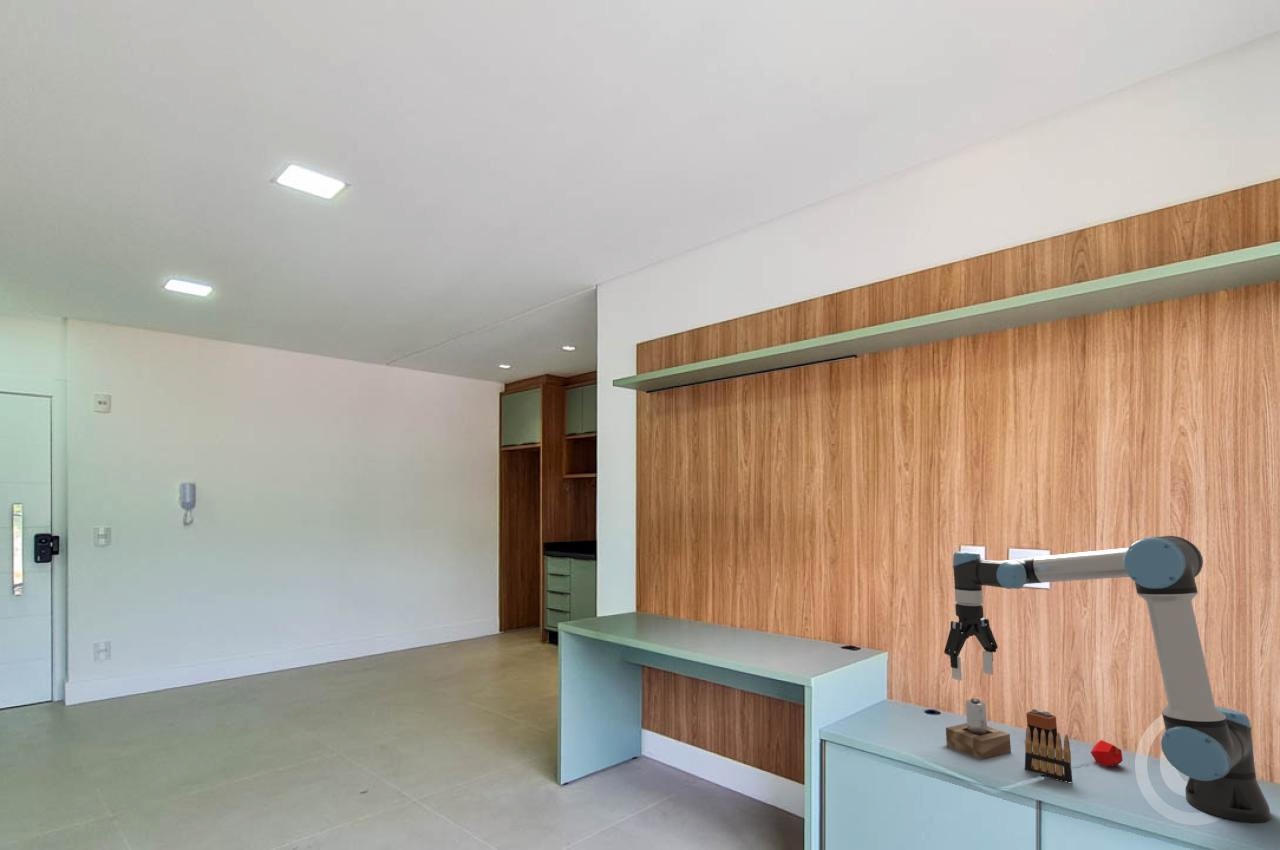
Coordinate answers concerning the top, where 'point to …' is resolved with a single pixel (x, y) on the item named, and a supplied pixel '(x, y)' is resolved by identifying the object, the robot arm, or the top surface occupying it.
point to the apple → (1106, 754)
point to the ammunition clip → (1048, 756)
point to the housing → (978, 741)
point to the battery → (1042, 724)
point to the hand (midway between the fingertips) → (972, 676)
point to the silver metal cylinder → (976, 717)
